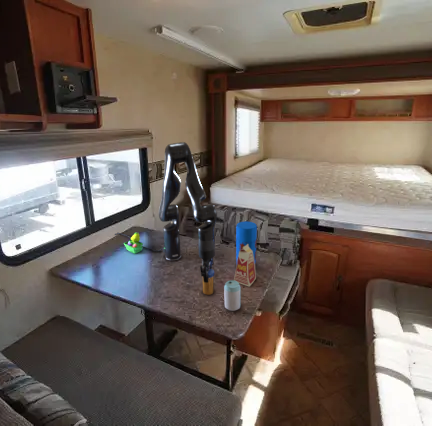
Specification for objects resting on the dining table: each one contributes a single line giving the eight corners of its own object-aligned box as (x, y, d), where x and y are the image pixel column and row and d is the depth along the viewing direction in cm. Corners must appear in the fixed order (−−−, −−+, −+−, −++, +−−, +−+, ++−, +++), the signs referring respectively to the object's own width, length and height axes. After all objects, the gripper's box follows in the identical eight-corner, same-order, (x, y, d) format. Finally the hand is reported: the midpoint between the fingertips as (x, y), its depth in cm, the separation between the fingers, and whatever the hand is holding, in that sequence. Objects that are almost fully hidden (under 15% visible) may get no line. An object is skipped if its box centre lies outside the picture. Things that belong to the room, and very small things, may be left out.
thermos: (233, 268, 157) (233, 227, 148) (240, 259, 165) (240, 220, 157) (252, 273, 152) (252, 230, 143) (258, 263, 161) (259, 223, 152)
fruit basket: (124, 250, 182) (121, 234, 178) (135, 245, 188) (133, 229, 185) (134, 255, 175) (132, 238, 171) (146, 250, 181) (144, 234, 178)
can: (222, 309, 125) (222, 286, 120) (227, 300, 131) (226, 278, 127) (238, 313, 122) (238, 289, 118) (242, 303, 128) (242, 280, 124)
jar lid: (212, 278, 131) (212, 275, 131) (200, 276, 133) (200, 273, 132) (215, 272, 136) (215, 269, 136) (204, 271, 138) (204, 267, 137)
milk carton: (249, 286, 140) (250, 250, 133) (232, 281, 145) (232, 246, 138) (256, 277, 147) (257, 243, 140) (240, 273, 152) (240, 239, 145)
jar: (200, 291, 137) (200, 272, 134) (207, 287, 141) (207, 268, 137) (208, 296, 134) (208, 276, 131) (215, 291, 138) (215, 272, 134)
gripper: (203, 239, 137) (204, 269, 143) (193, 253, 124) (195, 285, 130) (218, 240, 135) (219, 271, 141) (210, 254, 122) (211, 288, 128)
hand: (207, 278), depth 135 cm, fingers closed on jar lid, 5 cm apart
